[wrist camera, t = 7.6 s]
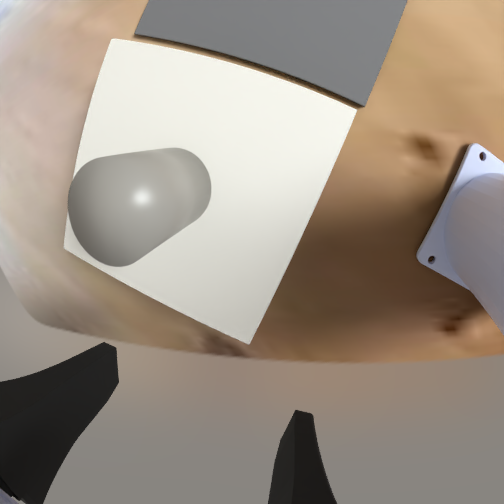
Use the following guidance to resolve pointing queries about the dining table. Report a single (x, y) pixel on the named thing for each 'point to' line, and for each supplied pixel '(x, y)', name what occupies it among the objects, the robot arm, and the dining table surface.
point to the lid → (199, 180)
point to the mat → (287, 36)
